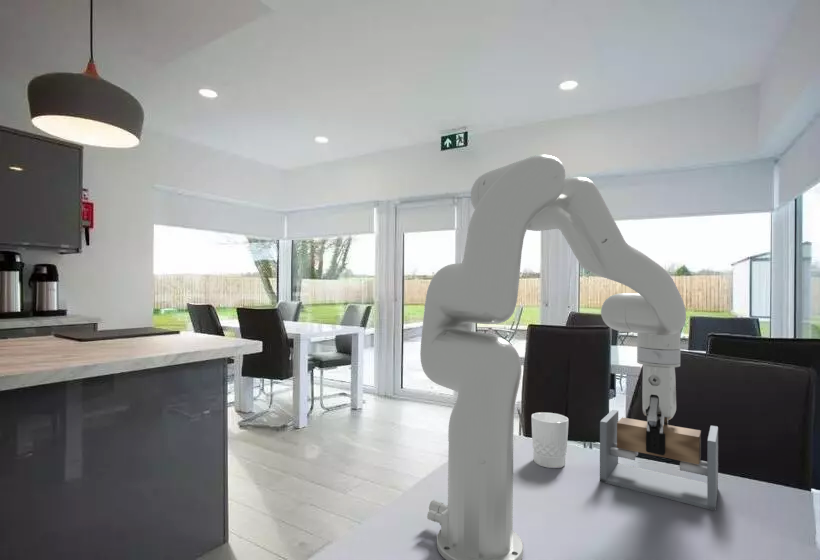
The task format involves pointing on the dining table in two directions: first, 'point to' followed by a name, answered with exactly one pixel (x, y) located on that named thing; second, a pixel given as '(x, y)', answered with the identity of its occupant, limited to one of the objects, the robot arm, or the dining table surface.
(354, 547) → the dining table surface
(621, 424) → the shelf board
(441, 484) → the dining table surface
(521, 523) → the dining table surface
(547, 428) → the white cup
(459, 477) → the robot arm
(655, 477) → the peg frame
